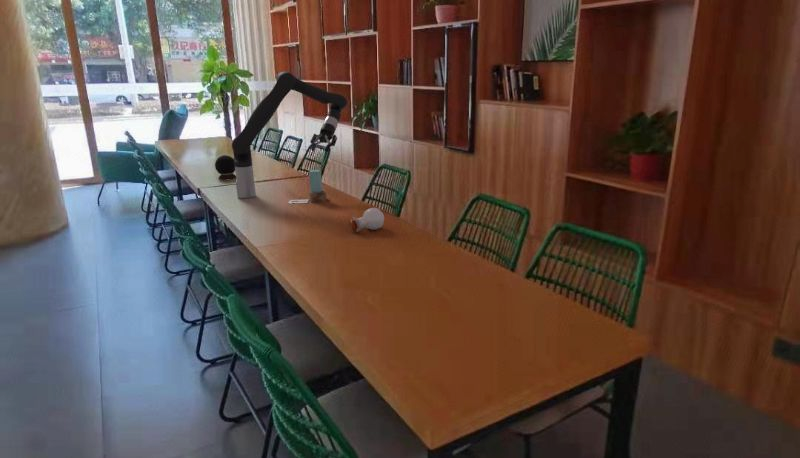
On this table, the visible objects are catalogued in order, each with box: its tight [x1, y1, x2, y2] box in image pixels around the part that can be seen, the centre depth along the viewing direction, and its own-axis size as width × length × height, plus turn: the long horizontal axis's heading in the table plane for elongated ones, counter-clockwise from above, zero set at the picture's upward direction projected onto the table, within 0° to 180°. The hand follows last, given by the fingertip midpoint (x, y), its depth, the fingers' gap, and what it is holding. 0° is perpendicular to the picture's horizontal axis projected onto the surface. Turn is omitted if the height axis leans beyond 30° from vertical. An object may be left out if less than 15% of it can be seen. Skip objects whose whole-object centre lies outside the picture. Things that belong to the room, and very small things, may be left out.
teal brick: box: [308, 169, 323, 193], centre depth 272 cm, size 5×5×11 cm
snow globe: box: [214, 154, 236, 181], centre depth 337 cm, size 13×13×15 cm
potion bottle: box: [348, 207, 385, 234], centre depth 221 cm, size 9×10×15 cm
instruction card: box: [287, 198, 310, 205], centre depth 273 cm, size 10×7×1 cm
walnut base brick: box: [308, 188, 327, 204], centre depth 275 cm, size 8×8×5 cm
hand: (319, 150), depth 277 cm, fingers open, 8 cm apart
